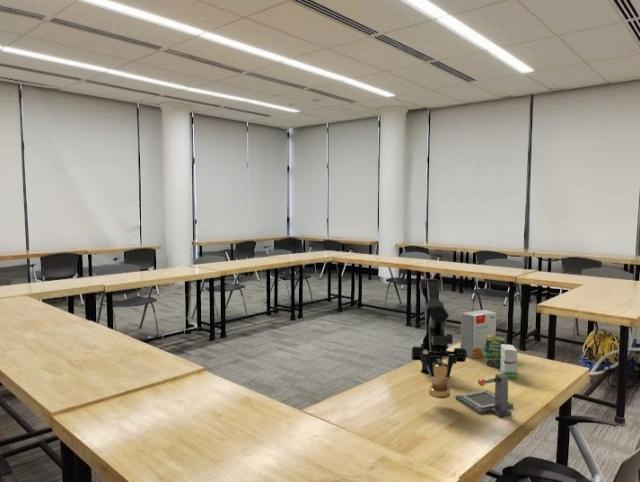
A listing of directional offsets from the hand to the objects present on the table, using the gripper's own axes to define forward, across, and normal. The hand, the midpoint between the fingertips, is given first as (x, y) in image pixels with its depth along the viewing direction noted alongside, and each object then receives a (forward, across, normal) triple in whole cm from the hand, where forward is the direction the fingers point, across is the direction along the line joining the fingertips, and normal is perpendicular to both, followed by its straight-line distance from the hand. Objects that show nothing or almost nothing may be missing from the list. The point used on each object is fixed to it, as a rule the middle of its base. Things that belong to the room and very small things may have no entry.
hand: (440, 377), depth 153 cm
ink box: (-16, +32, +33) cm, 48 cm away
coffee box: (-23, +29, +40) cm, 55 cm away
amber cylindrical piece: (+4, 0, +6) cm, 7 cm away
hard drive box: (-34, +25, +51) cm, 66 cm away
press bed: (+6, +16, +10) cm, 19 cm away
